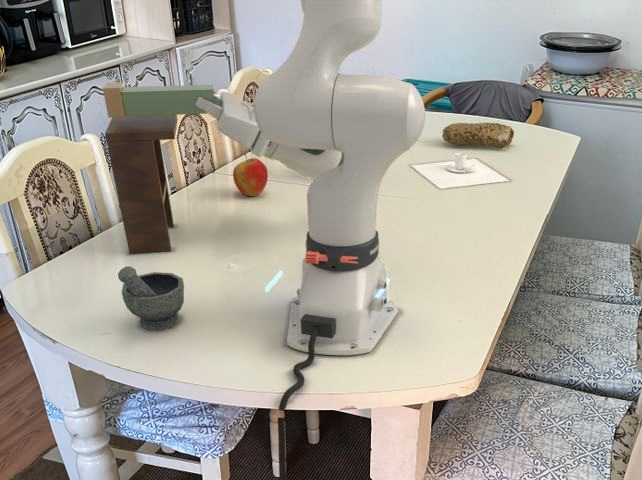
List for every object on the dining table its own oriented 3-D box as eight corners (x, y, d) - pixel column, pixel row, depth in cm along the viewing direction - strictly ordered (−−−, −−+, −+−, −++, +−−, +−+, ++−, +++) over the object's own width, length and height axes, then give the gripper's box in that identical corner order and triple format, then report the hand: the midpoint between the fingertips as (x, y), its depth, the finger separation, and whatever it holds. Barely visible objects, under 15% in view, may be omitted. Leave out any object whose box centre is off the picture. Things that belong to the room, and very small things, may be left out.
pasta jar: (215, 107, 138) (212, 79, 135) (216, 113, 134) (212, 85, 131) (111, 111, 134) (106, 82, 131) (108, 117, 130) (102, 88, 127)
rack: (192, 224, 154) (176, 112, 141) (191, 250, 142) (173, 130, 130) (135, 227, 151) (113, 114, 139) (129, 254, 140) (104, 133, 127)
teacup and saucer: (481, 173, 188) (482, 158, 186) (454, 176, 185) (455, 160, 183) (467, 163, 195) (468, 149, 193) (441, 166, 192) (441, 151, 190)
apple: (259, 202, 166) (255, 160, 161) (229, 197, 168) (224, 156, 163) (275, 191, 173) (272, 151, 167) (246, 187, 175) (242, 147, 169)
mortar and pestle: (155, 303, 123) (143, 240, 117) (200, 314, 120) (190, 249, 114) (111, 333, 114) (95, 266, 108) (158, 345, 111) (145, 277, 105)
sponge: (511, 146, 214) (450, 126, 217) (518, 123, 208) (456, 102, 212) (499, 166, 205) (436, 144, 208) (506, 142, 199) (441, 120, 203)
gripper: (266, 104, 147) (203, 71, 141) (274, 129, 131) (203, 93, 124) (253, 131, 150) (191, 99, 144) (259, 159, 133) (189, 125, 127)
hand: (196, 96), depth 134 cm, fingers closed on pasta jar, 4 cm apart
